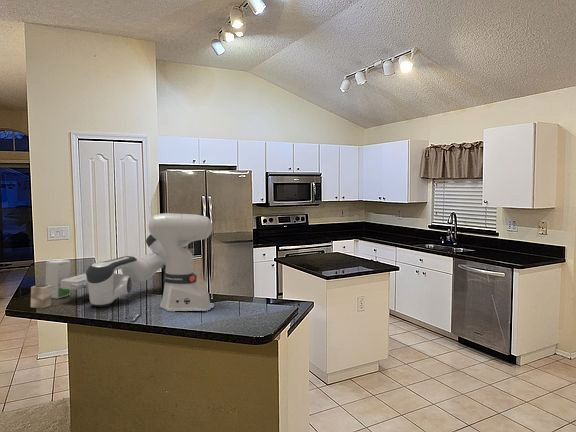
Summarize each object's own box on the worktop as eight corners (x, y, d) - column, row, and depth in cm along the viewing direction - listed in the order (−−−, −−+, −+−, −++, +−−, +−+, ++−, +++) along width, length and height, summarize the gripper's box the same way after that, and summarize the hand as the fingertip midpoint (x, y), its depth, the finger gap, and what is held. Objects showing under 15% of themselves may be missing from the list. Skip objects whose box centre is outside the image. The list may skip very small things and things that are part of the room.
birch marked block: (51, 305, 169) (51, 284, 169) (42, 308, 164) (43, 287, 164) (39, 304, 170) (40, 283, 169) (30, 307, 165) (31, 286, 164)
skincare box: (57, 299, 178) (58, 262, 178) (43, 297, 180) (44, 261, 179) (71, 295, 187) (72, 260, 186) (57, 293, 188) (58, 259, 187)
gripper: (80, 294, 170) (47, 291, 171) (106, 285, 190) (76, 282, 192) (81, 278, 170) (48, 275, 171) (106, 271, 190) (77, 268, 191)
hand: (63, 279), depth 181 cm, fingers closed
